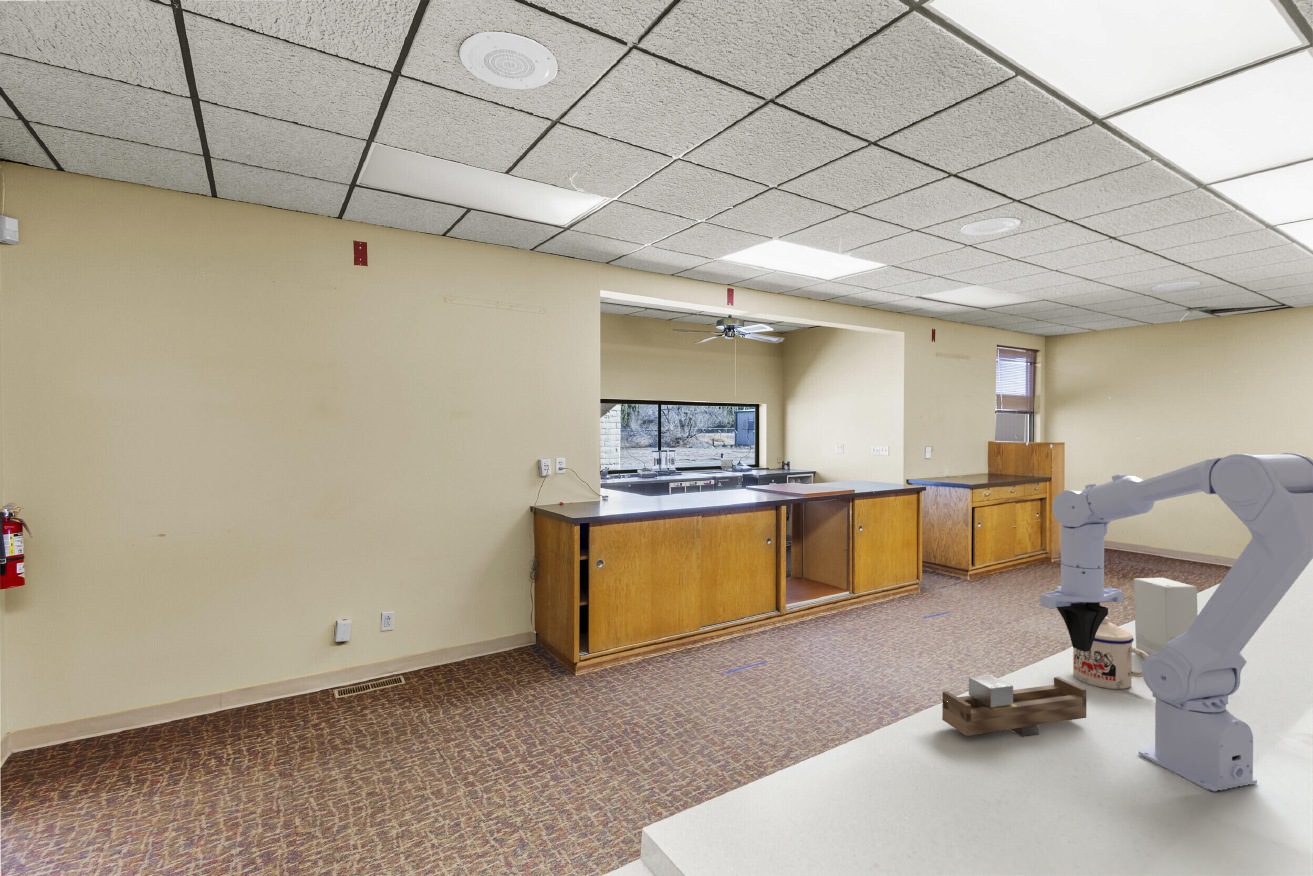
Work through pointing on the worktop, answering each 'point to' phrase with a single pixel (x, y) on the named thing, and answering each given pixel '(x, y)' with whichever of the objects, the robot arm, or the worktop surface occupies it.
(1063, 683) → the beam
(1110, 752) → the worktop surface
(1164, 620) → the skincare box
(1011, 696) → the block
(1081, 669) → the teacup with lid
